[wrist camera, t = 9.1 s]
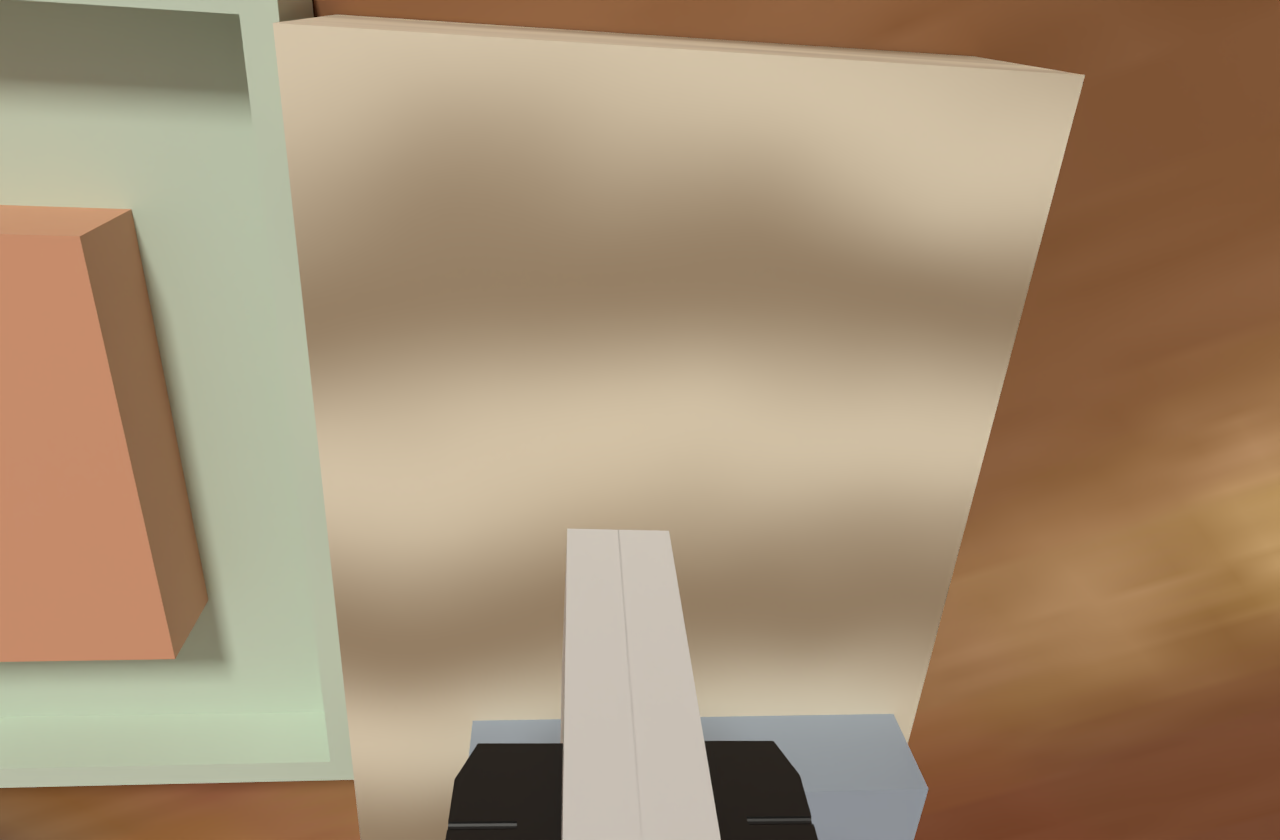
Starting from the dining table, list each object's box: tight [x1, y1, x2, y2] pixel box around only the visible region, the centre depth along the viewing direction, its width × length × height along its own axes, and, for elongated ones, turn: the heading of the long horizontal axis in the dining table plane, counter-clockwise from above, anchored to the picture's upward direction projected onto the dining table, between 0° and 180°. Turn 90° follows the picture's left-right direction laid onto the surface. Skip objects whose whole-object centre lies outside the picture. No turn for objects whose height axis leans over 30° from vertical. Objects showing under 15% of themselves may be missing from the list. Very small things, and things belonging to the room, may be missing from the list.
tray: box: [0, 0, 354, 788], centre depth 18 cm, size 17×11×2 cm, turn 176°
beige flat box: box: [273, 15, 1085, 840], centre depth 19 cm, size 20×12×4 cm, turn 176°
